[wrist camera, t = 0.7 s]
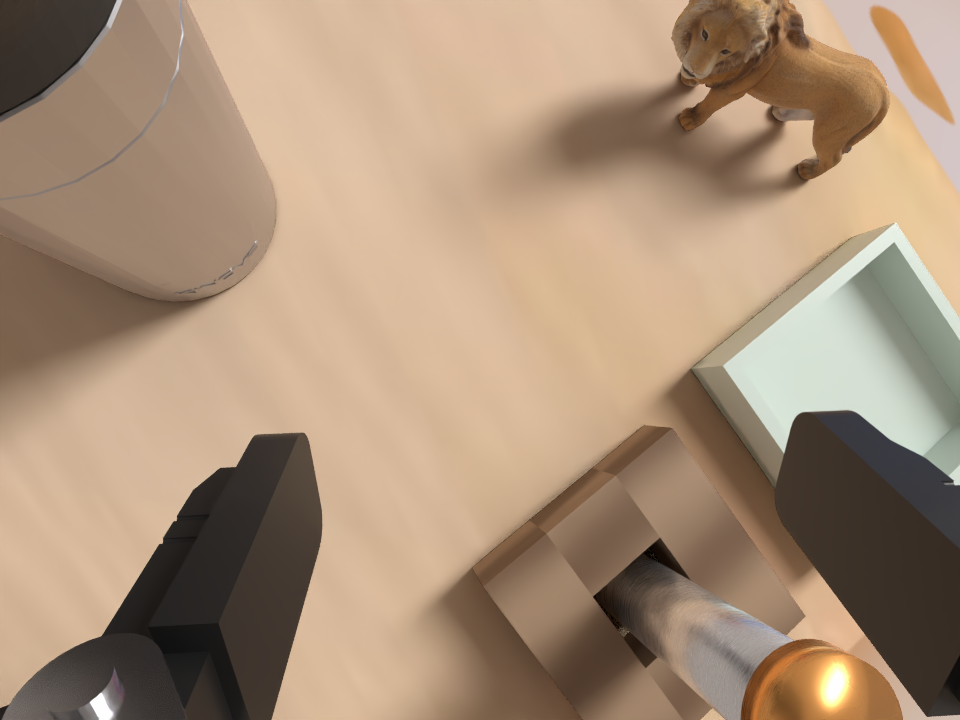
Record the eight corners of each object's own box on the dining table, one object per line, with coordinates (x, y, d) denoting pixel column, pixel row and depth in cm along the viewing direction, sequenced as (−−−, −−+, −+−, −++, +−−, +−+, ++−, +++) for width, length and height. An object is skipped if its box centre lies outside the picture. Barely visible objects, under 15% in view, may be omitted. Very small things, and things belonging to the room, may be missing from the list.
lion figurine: (615, 133, 32) (706, 33, 23) (627, 46, 33) (721, -84, 24) (838, 191, 35) (996, 120, 26) (847, 109, 35) (1005, 13, 26)
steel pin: (568, 576, 30) (737, 732, 16) (633, 521, 31) (846, 623, 17) (618, 644, 30) (828, 856, 16) (681, 587, 31) (930, 741, 17)
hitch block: (471, 567, 29) (483, 586, 26) (644, 425, 31) (672, 428, 28) (606, 747, 30) (632, 786, 27) (765, 596, 32) (805, 616, 29)
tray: (690, 368, 32) (722, 365, 29) (851, 237, 35) (895, 222, 32) (824, 558, 33) (868, 574, 30) (971, 416, 35) (1025, 418, 32)
